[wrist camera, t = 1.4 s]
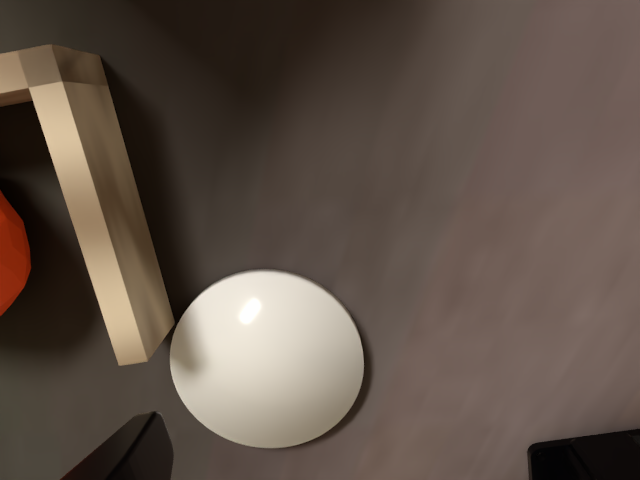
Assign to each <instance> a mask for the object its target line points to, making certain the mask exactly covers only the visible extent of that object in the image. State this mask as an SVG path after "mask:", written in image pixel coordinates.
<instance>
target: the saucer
mask: <svg viewBox="0 0 640 480" xmlns="http://www.w3.org/2000/svg"><path fill="white" fill-rule="evenodd" d="M170 367H171V373H172V378H173V381H174V384H175V387H176V390H177V392H178V394H179V396H180V397H181V399H182V401H183V403H184V404H185V405H186V407H187V408H188V410H189V411H190V412H191V413H192V414H193V415H194V416H195V417H196V419H197V420H199V421H200V422H201V423H202V424H203V425H205V426H206V427H207V428H209V429H210V430H212V431H213V432H215V433H216V434H218V435H220V436H222V437H224V438H226V439H228V440H231V441H234V442H236V443H239V444H243V445H247V446H252V447H259V448H281V447H289V446H294V445H298V444H301V443H305V442H308V441H310V440H312V439H314V438H317V437H319V436H320V435H322V434H324V433H325V432H327V431H329V430H330V429H331V428H332V427H334V426H335V425H336V424H337V423H338V422H339V421H340V420H341V419H342V418H343V417H344V416H345V415H346V414H347V412H348V411H349V409H350V408H351V407H352V405H353V403H354V401H355V399H356V398H357V396H358V393H359V390H360V387H361V384H362V379H363V372H364V358H363V349H362V343H361V339H360V335H359V331H358V329H357V326H356V324H355V321H354V320H353V318H352V316H351V314H350V313H349V311H348V310H347V308H346V307H345V306H344V305H343V303H342V302H341V301H340V300H339V299H338V298H337V297H336V296H335V295H334V294H333V293H332V292H330V291H329V290H328V289H326V288H325V287H324V286H322V285H321V284H319V283H317V282H315V281H314V280H312V279H310V278H307V277H305V276H303V275H300V274H297V273H293V272H290V271H285V270H278V269H253V270H246V271H242V272H237V273H234V274H232V275H229V276H226V277H224V278H222V279H220V280H218V281H216V282H214V283H213V284H211V285H210V286H209V287H207V288H206V289H205V290H203V291H202V292H201V293H200V294H199V295H198V296H197V297H196V298H195V299H194V301H193V302H192V303H191V304H190V306H189V307H188V308H187V310H186V311H185V313H184V314H183V316H182V317H181V319H180V321H179V323H178V324H177V327H176V329H175V332H174V335H173V338H172V343H171V349H170Z"/></svg>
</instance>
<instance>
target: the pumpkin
mask: <svg viewBox="0 0 640 480" xmlns="http://www.w3.org/2000/svg"><path fill="white" fill-rule="evenodd" d="M30 270H31V259H30V247H29V243H28V239H27V235H26V231H25V227H24V223H23V220H22V219H21V218H20V216H19V215H18V214H17V212H16V211H15V210H14V209H13V207H12V206H11V205H10V203H9V202H8V201H7V199H6V198H5V197H4V195H3V194H2V192H1V190H0V316H1V315H2V314H3V313H4V312H5V311H6V310H7V309H8V308H9V307H10V306H11V304H12V303H13V302H14V300H15V299H16V297H17V296H18V295H19V293H20V292H21V291H22V289H23V288H24V287H25V284H26V281H27V278H28V276H29V273H30Z"/></svg>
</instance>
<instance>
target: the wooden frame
mask: <svg viewBox="0 0 640 480" xmlns="http://www.w3.org/2000/svg"><path fill="white" fill-rule="evenodd" d="M28 101H33V102H34V105H35V108H36V111H37V115H38V118H39V121H40V124H41V127H42V130H43V133H44V136H45V139H46V142H47V145H48V148H49V151H50V155H51V158H52V161H53V164H54V167H55V170H56V173H57V176H58V179H59V182H60V185H61V188H62V192H63V195H64V198H65V201H66V204H67V207H68V210H69V213H70V216H71V219H72V222H73V225H74V228H75V232H76V235H77V238H78V241H79V244H80V247H81V250H82V253H83V256H84V259H85V262H86V265H87V269H88V272H89V275H90V278H91V281H92V284H93V287H94V290H95V293H96V296H97V299H98V302H99V305H100V309H101V312H102V315H103V318H104V321H105V324H106V327H107V330H108V333H109V336H110V339H111V342H112V346H113V349H114V352H115V355H116V358H117V361H118V364H119V366H121V365H127V364H134V363H140V362H147V361H148V360H149V359H150V358H151V356H152V355H153V353H154V352H155V351H156V349H157V348H158V346H159V345H160V344H161V342H162V341H163V339H164V338H165V337H166V335H167V334H168V332H169V331H170V330H171V328H172V327H173V325H174V324H175V321H174V317H173V314H172V310H171V307H170V303H169V300H168V296H167V293H166V289H165V286H164V282H163V278H162V275H161V271H160V268H159V264H158V261H157V257H156V254H155V250H154V247H153V243H152V239H151V236H150V232H149V229H148V225H147V222H146V218H145V215H144V211H143V208H142V204H141V200H140V197H139V193H138V190H137V186H136V183H135V179H134V176H133V172H132V169H131V165H130V161H129V158H128V154H127V151H126V147H125V144H124V140H123V137H122V133H121V130H120V126H119V122H118V119H117V115H116V112H115V108H114V105H113V101H112V98H111V94H110V91H109V87H108V83H107V80H106V76H105V73H104V69H103V66H102V62H101V59H100V55H96V54H91V53H87V52H83V51H78V50H74V49H70V48H66V47H61V46H57V45H53V44H48V45H43V46H38V47H33V48H28V49H23V50H18V51H13V52H8V53H3V54H0V107H2V106H8V105H13V104H18V103H23V102H28Z"/></svg>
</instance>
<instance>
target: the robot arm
mask: <svg viewBox="0 0 640 480" xmlns="http://www.w3.org/2000/svg"><path fill="white" fill-rule="evenodd" d="M538 453H541V454H540V455H538V456H537V454H538ZM527 455H528V469H529V480H640V429H635V430H628V431H620V432H613V433H606V434H598V435H591V436H583V437H576V438H569V439H561V440H554V441H547V442H539V443H535V444H532V445H531V446H530V447H529V448H528V451H527ZM173 458H174V452H173V446H172V442H171V439H170V436H169V433H168V430H167V427H166V424H165V422H164V419H163V416H162V415H161V413H159V412H157V411H154V412H148V413H141V414H138V415H136V416H134V417H133V418H132V419H131V420H130V421H128V422H127V423H126V424H125V425H124V426H122V427H121V428H120V429H119V430H118V431H117V432H115V433H114V434H113V435H112V436H111V437H110V438H108V439H107V440H106V441H105V442H104V443H102V444H101V445H100V446H99V447H98V448H97V449H95V450H94V451H93V452H92V453H91V454H90V455H88V456H87V457H86V458H85V459H84V460H82V461H81V462H80V463H79V464H78V465H77V466H75V467H74V468H73V469H72V470H71V471H70V472H68V473H67V474H66V475H65V476H64V477H62V478H61V479H60V480H170V479H171V472H172V466H173Z"/></svg>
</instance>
